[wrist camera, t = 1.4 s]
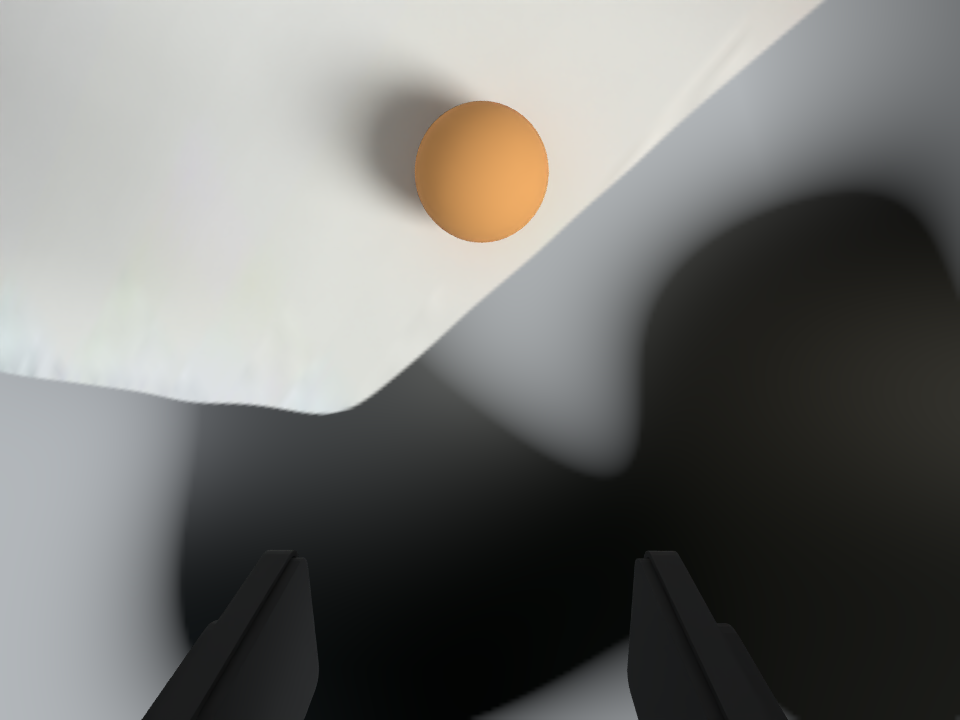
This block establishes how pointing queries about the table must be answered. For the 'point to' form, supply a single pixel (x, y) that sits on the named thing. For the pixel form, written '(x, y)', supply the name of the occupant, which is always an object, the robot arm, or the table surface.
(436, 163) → the ball
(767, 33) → the table surface
